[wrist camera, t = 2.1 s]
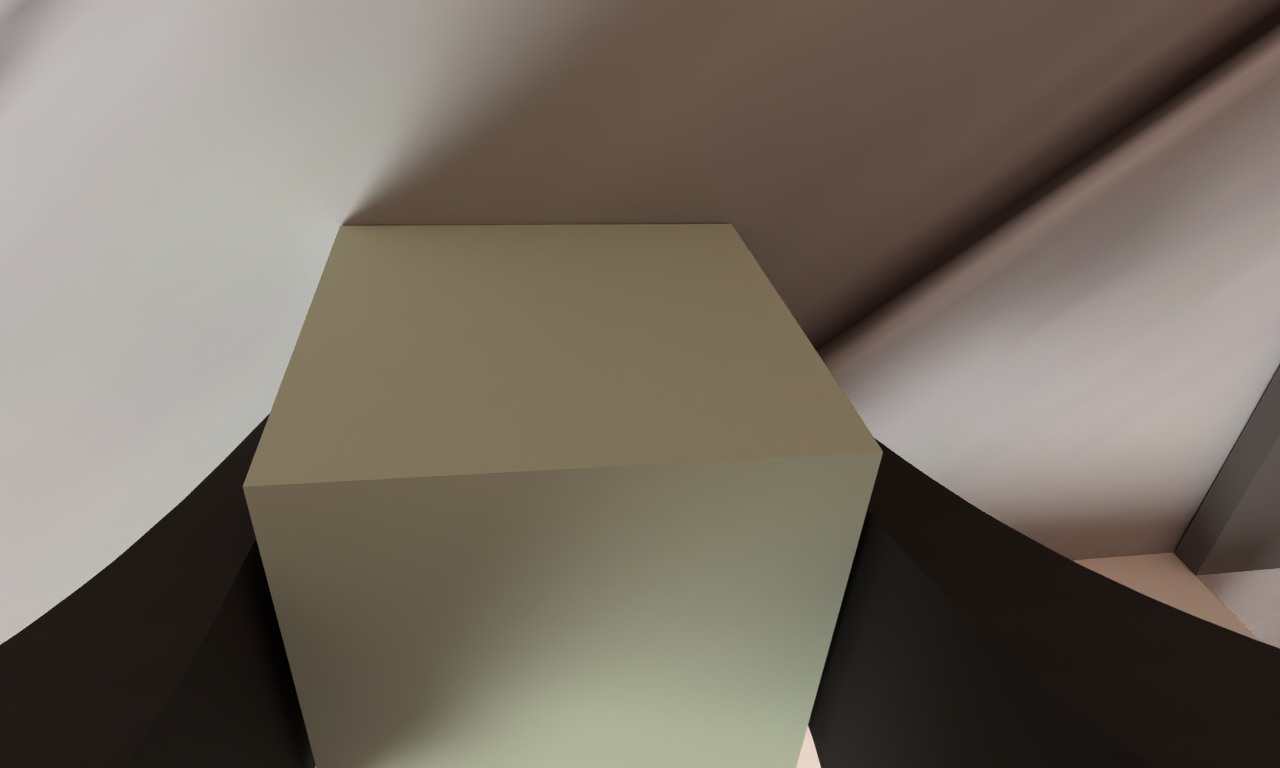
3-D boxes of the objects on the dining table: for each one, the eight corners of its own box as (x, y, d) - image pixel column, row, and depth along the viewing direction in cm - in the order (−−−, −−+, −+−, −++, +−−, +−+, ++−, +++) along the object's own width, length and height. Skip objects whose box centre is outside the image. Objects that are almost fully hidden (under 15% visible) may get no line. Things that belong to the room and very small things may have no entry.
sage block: (695, 507, 14) (788, 794, 10) (384, 527, 13) (338, 851, 9) (732, 223, 11) (884, 451, 7) (340, 226, 10) (242, 486, 6)
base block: (1020, 789, 22) (1090, 911, 19) (688, 833, 20) (718, 972, 18) (1158, 537, 17) (1275, 657, 14) (734, 570, 15) (783, 711, 13)
